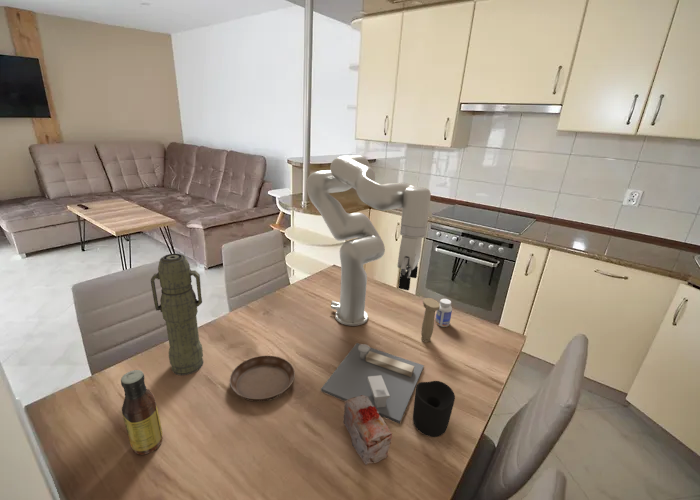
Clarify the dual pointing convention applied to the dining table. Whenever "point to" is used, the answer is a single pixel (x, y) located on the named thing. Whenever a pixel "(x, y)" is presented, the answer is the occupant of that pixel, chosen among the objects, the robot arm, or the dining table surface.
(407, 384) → the board
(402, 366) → the link
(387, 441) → the food item
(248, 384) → the plant saucer
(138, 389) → the sauce bottle
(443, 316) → the pill bottle
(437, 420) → the pen holder
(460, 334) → the dining table surface
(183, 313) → the thermos
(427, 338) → the handle
